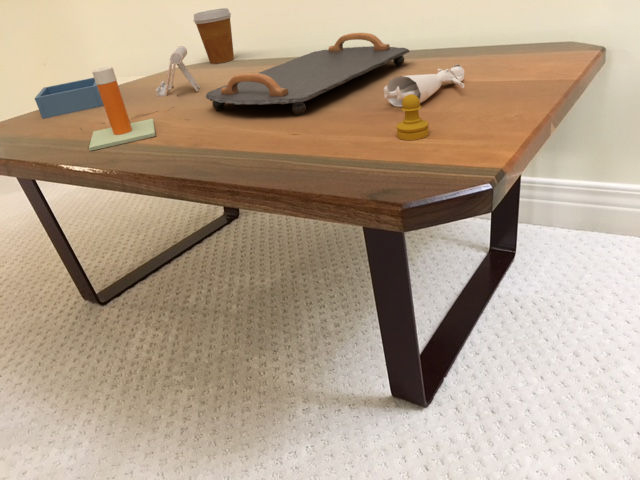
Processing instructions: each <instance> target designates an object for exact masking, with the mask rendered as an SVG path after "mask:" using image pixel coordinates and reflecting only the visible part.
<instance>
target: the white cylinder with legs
mask: <svg viewBox="0 0 640 480" xmlns="http://www.w3.org/2000/svg"><path fill="white" fill-rule="evenodd" d="M187 55H188V50H187V47H185V46H178V47H177V48H176V49H175V50H174V51H173V53H172V54H171V55H170V58H169V66H168V73H167V80H166V82H165V80H162V81H161V82H160V84H159V86H158V87H156V89H155V95H156V98H162V97H167V96H168V94H169V91H170V90H171V89H173V86H174V79H175V73H176V67H178V68H179V70H180V71H181V72H182V74H183V75H184V77H185V78H186V80H187V81H188V83H189V84H190V85H191V87H192V88H193V89H194V91H195V92H196V93H198V92H199V90H200V89H201V85H200V84H199V83H198V81H197V80H196V79H195V77H194V76H193V74H192V73H191V72H190V71H189V69H188V68H187V65H185V63H184V61H183V60H184V59H185V57H186V56H187Z"/></svg>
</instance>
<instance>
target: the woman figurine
mask: <svg viewBox="0 0 640 480" xmlns="http://www.w3.org/2000/svg"><path fill="white" fill-rule="evenodd" d="M437 71H438V72H437V73H426V74H425V73H423V74H409V75H397V76H394V77H392V78H391V79H389V80H388V82H387V85H385V86H384V87H383V93H384V97H383V98H384V99H386V100H387V101H388V102H389V104H391V105H392V106H393V107H402V101H403V99H404V97H405V96H407V95H409V94H413V95H416V96H417V97H418V98H419V100H420V105H422V103H424V102H426V101H427V100H428V99H429V98H431V96H433V95H434V94H435V93H437V92H438V90H439V89H441V86H442V84H444V85H452V84H455V85H458V86H459V87H460V88H461V89H464V88H465V83H463V82H462V81H463V80H464V78H465V75H466V73H465V72H466V71H465V69H464V67H462V65H460V64H459V63H457V64H455V65H452V66H451V68H450V69H449V68H446V69H445V70H444V69H442V68H438V69H437Z"/></svg>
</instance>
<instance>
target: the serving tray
mask: <svg viewBox="0 0 640 480" xmlns="http://www.w3.org/2000/svg"><path fill="white" fill-rule="evenodd" d="M356 40H357V41H358V40H359V41H367V42H370V43H371V44H372V46H371V45H370V46H354V47H343V46H344V44H345V42H348V41H356ZM408 53H410V50H409V48H406V47H396V46H390V44H389V43H384V42H382V40H381V39H380V38H379V37H377V36H376V35H374V34H373V33H368V32H351V33H346V34H344V35H342V36H340V37H339V38H338V39H336V41H335V43H334V45H330V46H328V49H322V50H317V51H312V52H309V53H307V54H304V55H301V56H298V57H297V58H293V59H291V60H288V61H286V62H284V63H281V64H278V65H275V66H273V67H272V66H271V67H270V68H268V69H265V70H263V71H259V72H243V73H240V74H236V75H234V76H233V77H231V78H230V80H229V81H228V83H227V84H226V85H223V86H220V87H218V88H215V89H213V90H211V91H208V92H206V95H205V98H206V99H207V100H209V101H210V102H212V103H211V104H212V108H214V109H215V112H216V111H222V110H223V111H224V109H225V105H226V104H230V105H238V106H239V105H240V106H245V105H247V106H250V105H251V106H253V105H256V106H264V105H287V104H292V105H291V111H292V113H293V114H294V115H295V116H296V117H300V116H303V115H305V112H306V110H307V106H306V103H304V102H307V101H310V100H312V99H314V98H316V97H318V96H320V95H322V94H324V93H326V92H329V91H331V90H333V89H335V88H337V87H339V86H343V85H344V84H346V83H347V82H349V81H351V80H353V79H356V78H358V77H361V76H363V75H365V74H368V73H369V72H371V71H373V70H375V69H377V68H380V67H381V66H384V65H386V64H388V63H389V62H391V61H392V62H393V64H394V65H395V67H401V66H403V65H404V63H405V56H404V55H407V54H408Z"/></svg>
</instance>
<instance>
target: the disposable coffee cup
mask: <svg viewBox="0 0 640 480" xmlns="http://www.w3.org/2000/svg"><path fill="white" fill-rule="evenodd" d="M231 15H232V13H231V12H230V10H229V8H228V7H223V8H216V9H209V10H204V11H200V12H196V13H193V20H192V21H193V22H194V24H195V25H196V28H197V31H198V33H199V36H200V39H201V42H202V44H203V47H204V50H205V53H206V55H207V58H208V61H209V64H212V65H217V64H223V63H227V62H231V61H234V59H235V54H234V42H233V33H232V24H231V23H232V22H231Z"/></svg>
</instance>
